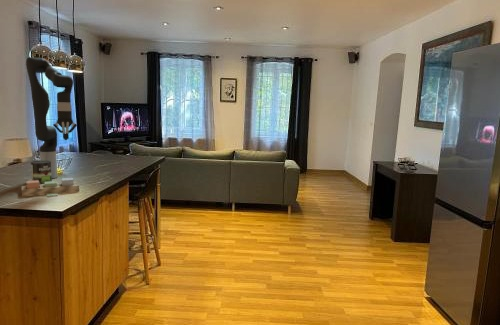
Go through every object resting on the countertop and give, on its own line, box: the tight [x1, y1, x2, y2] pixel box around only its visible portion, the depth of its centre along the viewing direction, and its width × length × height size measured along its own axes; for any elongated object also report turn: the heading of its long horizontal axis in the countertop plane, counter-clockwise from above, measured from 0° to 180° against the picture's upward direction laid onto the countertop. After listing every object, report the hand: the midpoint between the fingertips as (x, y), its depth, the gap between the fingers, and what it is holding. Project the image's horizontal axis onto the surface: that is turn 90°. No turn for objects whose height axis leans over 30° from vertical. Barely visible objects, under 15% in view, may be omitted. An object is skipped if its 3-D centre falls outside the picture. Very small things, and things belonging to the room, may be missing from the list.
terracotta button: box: [26, 180, 39, 189], centre depth 197 cm, size 6×6×4 cm
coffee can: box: [30, 160, 53, 185], centre depth 215 cm, size 10×10×14 cm
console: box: [21, 181, 80, 198], centre depth 202 cm, size 27×10×4 cm, turn 121°
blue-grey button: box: [61, 177, 75, 186], centre depth 206 cm, size 6×6×4 cm
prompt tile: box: [46, 193, 59, 198], centre depth 195 cm, size 5×5×1 cm
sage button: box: [45, 180, 58, 187], centre depth 202 cm, size 6×6×4 cm
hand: (65, 139), depth 216 cm, fingers closed
